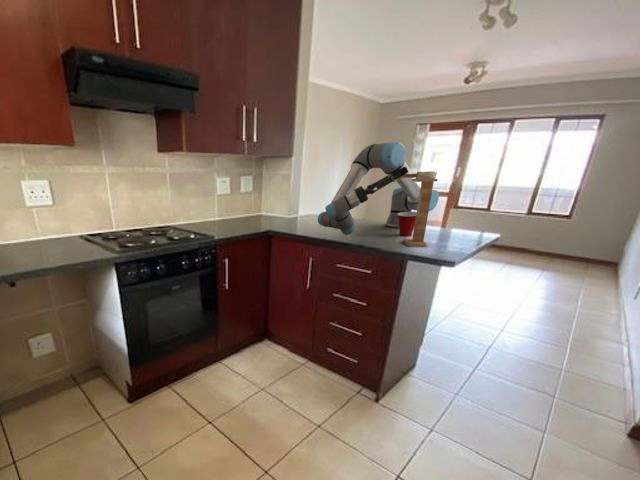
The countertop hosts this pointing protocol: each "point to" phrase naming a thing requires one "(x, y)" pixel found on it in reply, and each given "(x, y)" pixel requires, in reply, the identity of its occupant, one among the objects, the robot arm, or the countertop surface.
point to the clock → (420, 175)
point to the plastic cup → (406, 223)
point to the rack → (421, 213)
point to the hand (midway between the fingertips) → (406, 169)
